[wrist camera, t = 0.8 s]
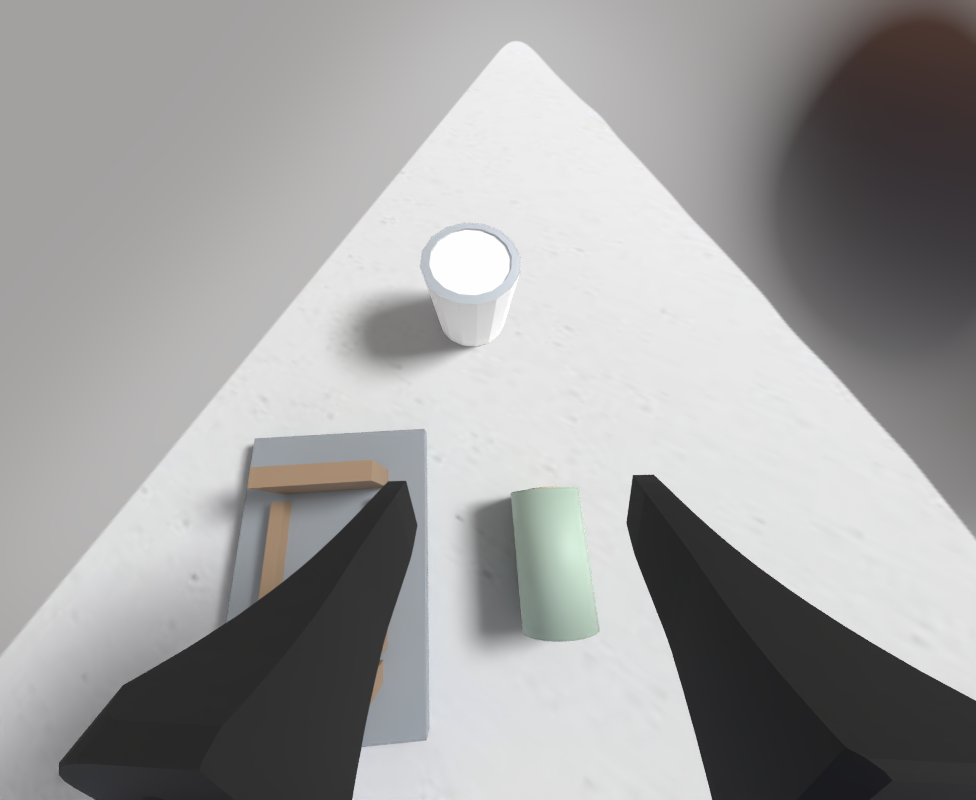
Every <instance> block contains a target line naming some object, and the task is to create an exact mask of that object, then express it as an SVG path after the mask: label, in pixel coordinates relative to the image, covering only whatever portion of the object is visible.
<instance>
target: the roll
mask: <svg viewBox="0 0 976 800" xmlns="http://www.w3.org/2000/svg"><path fill="white" fill-rule="evenodd" d="M511 502H512V514H513V526H514V537H515V549H516V561H517V572H518V584H519V596H520V607H521V619H522V631H523V633H524V634H525V635H526V636H528V637H530V638H533V639H537V640H543V641H574V640H580V639H585V638H588V637H591V636H594V635H596V634H597V633H598V632H599V630H600V629H599V622H598V616H597V609H596V602H595V595H594V589H593V582H592V575H591V569H590V562H589V555H588V548H587V542H586V535H585V528H584V521H583V515H582V508H581V501H580V495H579V488H578V487H540V488H532V489H528V490H522V491H516V492H512V493H511Z"/></svg>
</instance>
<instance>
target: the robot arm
mask: <svg viewBox="0 0 976 800" xmlns="http://www.w3.org/2000/svg"><path fill="white" fill-rule="evenodd" d="M417 526H418V525H417V521H416V517H415V513H414V509H413V506H412V502H411V498H410V494H409V490H408V486H407V482H406V481H388V482H387V483H386V484H385V485H384V486H383V487H382V488H381V489H380V490H379V491H378V492H377V493H376V495H375V496H374V497H373V498H372V499H371V500H370V501H369V502H368V503H367V504H366V505H365V506H364V507H363V508H362V509H361V510H360V511H359V512H358V514H357V515H356V516H355V517H354V518H353V519H352V520H351V521H350V522H349V523H348V524H347V525H346V526H345V527H344V528H343V529H342V530H341V531H340V532H339V533H338V534H337V535H336V536H335V537H333V538H332V539H331V540H330V541H329V542H328V543H327V544H326V545H325V546H324V547H323V548H322V549H321V550H320V551H319V552H318V553H317V554H315V555H314V556H313V557H312V558H311V559H310V560H309V561H307V562H306V563H305V564H304V565H303V566H302V567H300V568H299V569H298V570H297V571H296V572H294V573H293V574H292V575H291V576H289V577H288V578H287V579H286V580H285V581H283V582H282V583H281V584H280V585H278V586H277V587H276V588H274V589H273V590H272V591H270V592H269V593H268V594H266V595H265V596H263V597H262V598H261V599H259V600H258V601H257V602H255V603H254V604H253V605H251V606H250V607H248V608H247V609H246V610H244V611H243V612H242V613H240V614H239V615H237V616H236V617H234V618H233V619H231V620H230V621H228V622H227V623H225V624H224V625H222V626H221V627H219V628H218V629H216V630H215V631H213V632H212V633H210V634H209V635H207V636H206V637H204V638H202V639H201V640H199V641H198V642H196V643H195V644H193V645H191V646H190V647H188V648H187V649H185V650H183V651H182V652H180V653H178V654H177V655H175V656H173V657H171V658H170V659H168V660H166V661H165V662H163V663H161V664H159V665H158V666H156V667H154V668H153V669H151V670H149V671H147V672H146V673H144V674H142V675H141V676H139V677H137V678H135V679H134V680H132V681H130V682H128V683H126V684H125V685H123V686H122V687H121V689H120V690H119V691H118V692H117V693H116V695H115V696H114V697H113V698H112V699H111V701H110V702H109V703H108V704H107V706H106V707H105V708H104V709H103V710H102V712H101V713H100V714H99V715H98V716H97V718H96V719H95V720H94V721H93V723H92V724H91V725H90V726H89V727H88V729H87V730H86V731H85V732H84V733H83V735H82V736H81V737H80V738H79V740H78V741H77V742H76V743H75V744H74V746H73V747H72V748H71V749H70V750H69V752H68V753H67V754H66V755H65V757H64V758H63V759H62V760H61V761H60V763H59V775H60V777H61V778H62V779H63V780H64V781H65V782H67V783H68V784H70V785H71V786H73V787H74V788H76V789H78V790H79V791H81V792H83V793H85V794H86V795H88V796H90V797H92V798H94V799H95V800H352V797H353V791H354V785H355V779H356V773H357V768H358V762H359V757H360V752H361V747H362V742H363V736H364V731H365V726H366V721H367V716H368V711H369V707H370V702H371V697H372V693H373V688H374V683H375V679H376V674H377V670H378V666H379V661H380V657H381V653H382V648H383V644H384V640H385V637H386V634H387V630H388V627H389V623H390V620H391V617H392V614H393V611H394V608H395V605H396V602H397V599H398V596H399V593H400V590H401V587H402V584H403V581H404V578H405V575H406V572H407V569H408V565H409V562H410V559H411V556H412V551H413V547H414V542H415V536H416V531H417ZM627 527H628V531H629V535H630V539H631V543H632V546H633V550H634V554H635V557H636V559H637V562H638V565H639V567H640V570H641V572H642V575H643V577H644V580H645V583H646V585H647V588H648V590H649V593H650V595H651V598H652V600H653V603H654V605H655V608H656V610H657V613H658V616H659V618H660V621H661V623H662V626H663V628H664V631H665V634H666V636H667V639H668V642H669V645H670V648H671V651H672V654H673V658H674V661H675V664H676V668H677V671H678V674H679V678H680V681H681V685H682V688H683V691H684V695H685V699H686V702H687V706H688V709H689V713H690V716H691V720H692V724H693V727H694V731H695V734H696V738H697V742H698V746H699V750H700V754H701V757H702V761H703V765H704V769H705V773H706V777H707V780H708V784H709V788H710V792H711V796H712V800H976V701H975V700H973V699H971V698H969V697H968V696H966V695H964V694H962V693H960V692H958V691H956V690H955V689H953V688H951V687H949V686H947V685H945V684H943V683H942V682H940V681H938V680H936V679H934V678H932V677H930V676H928V675H927V674H925V673H923V672H921V671H919V670H918V669H916V668H914V667H912V666H911V665H909V664H907V663H905V662H904V661H902V660H900V659H899V658H897V657H895V656H893V655H892V654H890V653H888V652H887V651H885V650H883V649H881V648H880V647H878V646H876V645H875V644H873V643H871V642H869V641H868V640H866V639H865V638H863V637H861V636H860V635H858V634H856V633H855V632H853V631H852V630H850V629H848V628H847V627H845V626H843V625H842V624H840V623H839V622H837V621H836V620H834V619H833V618H831V617H829V616H828V615H826V614H825V613H823V612H822V611H820V610H819V609H817V608H816V607H814V606H813V605H811V604H809V603H808V602H806V601H805V600H804V599H802V598H801V597H799V596H798V595H796V594H795V593H793V592H792V591H790V590H789V589H788V588H786V587H785V586H783V585H782V584H781V583H779V582H778V581H777V580H775V579H774V578H772V577H771V576H770V575H768V574H767V573H766V572H764V571H763V570H761V569H760V568H759V567H757V566H756V565H755V564H754V563H752V562H751V561H750V560H748V559H747V558H746V557H745V556H743V555H742V554H741V553H740V552H738V551H737V550H736V549H735V548H734V547H732V546H731V545H730V544H729V543H727V542H726V541H725V540H724V539H723V538H721V537H720V536H719V535H718V534H717V533H716V532H714V531H713V530H712V529H711V528H710V527H709V526H708V525H707V524H706V523H704V522H703V521H702V520H701V519H700V518H699V517H698V516H697V515H696V514H694V513H693V512H692V511H691V510H690V509H689V508H688V507H687V506H686V505H685V504H684V503H683V502H682V501H681V500H680V499H678V498H677V497H676V496H675V495H674V494H673V493H672V492H671V491H670V490H669V489H668V488H667V487H666V486H665V485H664V484H663V483H662V482H661V481H660V480H659V479H658V478H657V477H655V476H654V475H633V479H632V487H631V494H630V501H629V509H628V516H627Z"/></svg>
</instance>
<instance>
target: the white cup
mask: <svg viewBox="0 0 976 800" xmlns="http://www.w3.org/2000/svg"><path fill="white" fill-rule="evenodd" d="M520 258H521V257H520V255H519V253H518V250H517V248H516V246H515V244H514V242H513V241H512V240H511V239H509V238H508V237H507V236H506V235H505V234H504V233H503V232H501V231H500V230H498V229H495V228H492V227H490V226H487V225H485V224H476V223H462V224H458V225H454V226H450V227H446V228H445V229H443V230H442V231H440V232H439V233H437V234H435V235H434V236H432V237H431V239H430V240H429V242H428V243H427V245H426V246H425V247H424V249H423V250H422V256H421V263H420V268H421V271H422V274H423V276H424V279H425V282H426V285H427V288H428V290H429V293H430V296H431V299H432V302H433V304H434V307H435V310H436V313H437V316H438V318H439V321H440V324H441V327H442V330H443V332H444V333H445V334H446V335H447V336H448V337H449V338H450V339H451V340H452V341H454V342H456V343H458V344H460V345H463V346H474V347H477V346H480V345H484V344H487V343H489V342H491V341H492V340H493V339H494V338H496V337H497V336H498V335H499V333H500V332H501V330H502V328H503V326H504V323H505V320H506V317H507V313H508V310H509V307H510V304H511V301H512V297H513V294H514V291H515V288H516V284H517V281H518V278H519V275H520Z"/></svg>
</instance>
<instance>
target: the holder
mask: <svg viewBox="0 0 976 800" xmlns="http://www.w3.org/2000/svg"><path fill="white" fill-rule="evenodd" d="M388 481H406V482H407V486H408V490H409V494H410V498H411V502H412V506H413V509H414V513H415V517H416V521H417V525H418V526H417V531H416V536H415V542H414V547H413V551H412V556H411V559H410V562H409V565H408V569H407V572H406V575H405V578H404V581H403V584H402V587H401V590H400V593H399V596H398V599H397V602H396V605H395V608H394V611H393V614H392V617H391V620H390V623H389V627H388V630H387V634H386V637H385V640H384V644H383V648H382V653H381V657H380V661H379V666H378V670H377V674H376V679H375V683H374V688H373V693H372V697H371V702H370V707H369V711H368V716H367V721H366V726H365V731H364V736H363V742H362V747H366V746H376V745H386V744H395V743H405V742H415V741H425V740H427V735H428V731H429V660H428V548H427V436H426V431H425V429H415V430H397V431H380V432H362V433H345V434H327V435H310V436H292V437H274V438H257V439H255V441H254V447H253V453H252V460H251V466H250V472H249V479H248V485H247V492H246V498H245V504H244V511H243V517H242V523H241V530H240V536H239V543H238V549H237V555H236V562H235V568H234V574H233V581H232V587H231V594H230V600H229V606H228V613H227V619H226V623H227V622H228V621H230V620H231V619H233V618H234V617H236V616H237V615H239V614H240V613H242V612H243V611H244V610H246V609H247V608H248V607H250V606H251V605H253V604H254V603H255V602H257V601H258V600H259V599H261V598H262V597H263V596H265V595H266V594H268V593H269V592H270V591H272V590H273V589H274V588H276V587H277V586H278V585H280V584H281V583H282V582H283V581H285V580H286V579H287V578H288V577H289V576H291V575H292V574H293V573H294V572H296V571H297V570H298V569H299V568H300V567H302V566H303V565H304V564H305V563H306V562H307V561H309V560H310V559H311V558H312V557H313V556H314V555H315V554H317V553H318V552H319V551H320V550H321V549H322V548H323V547H324V546H325V545H326V544H327V543H328V542H329V541H330V540H331V539H332V538H333V537H335V536H336V535H337V534H338V533H339V532H340V531H341V530H342V529H343V528H344V527H345V526H346V525H347V524H348V523H349V522H350V521H351V520H352V519H353V518H354V517H355V516H356V515H357V514H358V512H359V511H360V510H361V509H362V508H363V507H364V506H365V505H366V504H367V503H368V502H369V501H370V500H371V499H372V498H373V497H374V496H375V495H376V493H377V492H378V491H379V490H380V489H381V488H382V487H383V486H384V485H385V484H386V483H387V482H388Z"/></svg>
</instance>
